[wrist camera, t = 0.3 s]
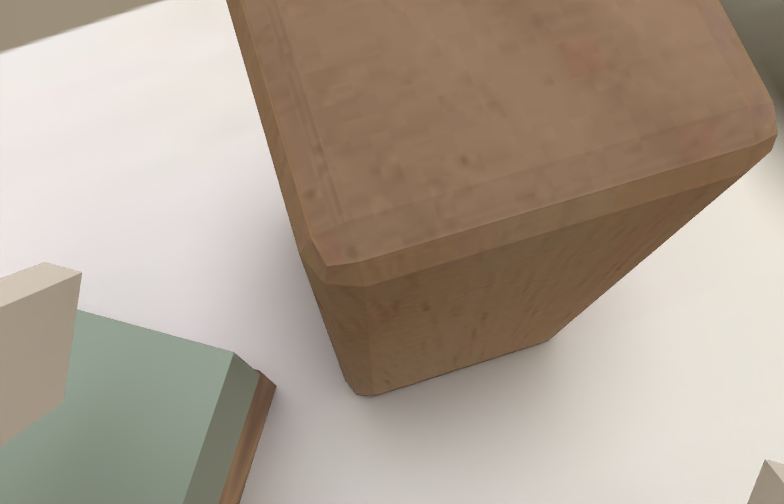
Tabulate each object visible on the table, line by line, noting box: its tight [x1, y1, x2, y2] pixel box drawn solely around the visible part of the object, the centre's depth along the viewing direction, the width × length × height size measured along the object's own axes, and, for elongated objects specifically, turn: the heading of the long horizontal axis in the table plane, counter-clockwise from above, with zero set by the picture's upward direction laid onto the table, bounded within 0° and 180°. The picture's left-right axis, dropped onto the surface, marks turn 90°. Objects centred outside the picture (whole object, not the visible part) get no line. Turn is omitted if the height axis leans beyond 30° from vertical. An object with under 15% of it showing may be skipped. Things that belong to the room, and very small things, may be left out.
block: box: [226, 0, 778, 396], centre depth 24 cm, size 10×10×20 cm
